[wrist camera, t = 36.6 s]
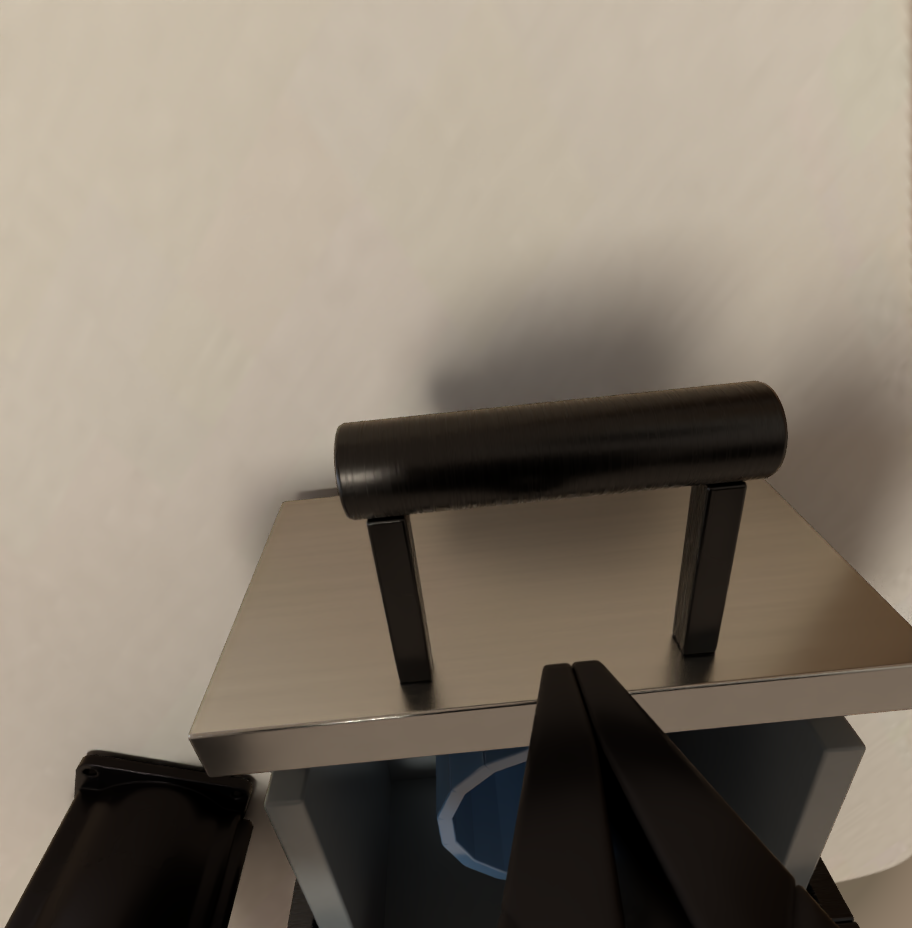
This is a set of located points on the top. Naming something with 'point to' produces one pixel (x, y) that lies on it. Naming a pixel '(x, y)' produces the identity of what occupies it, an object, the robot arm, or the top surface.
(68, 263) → the top surface
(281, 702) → the dish drawer
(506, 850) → the espresso cup
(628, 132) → the top surface
